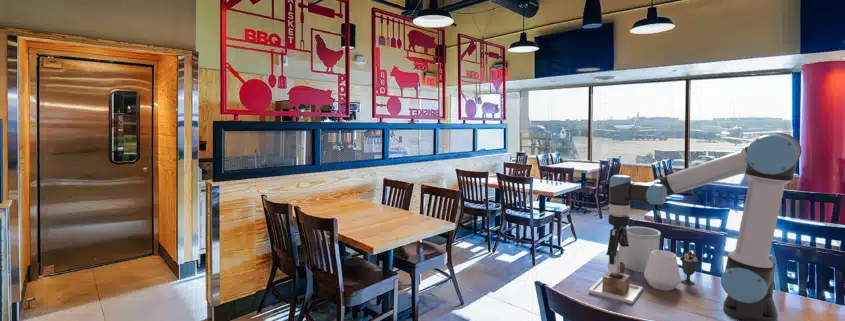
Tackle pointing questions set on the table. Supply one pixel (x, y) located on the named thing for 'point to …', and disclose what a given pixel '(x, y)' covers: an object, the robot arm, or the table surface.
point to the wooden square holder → (616, 284)
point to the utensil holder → (640, 247)
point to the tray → (628, 298)
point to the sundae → (689, 266)
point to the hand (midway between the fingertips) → (617, 266)
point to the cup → (662, 270)
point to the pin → (617, 267)
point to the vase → (621, 267)
